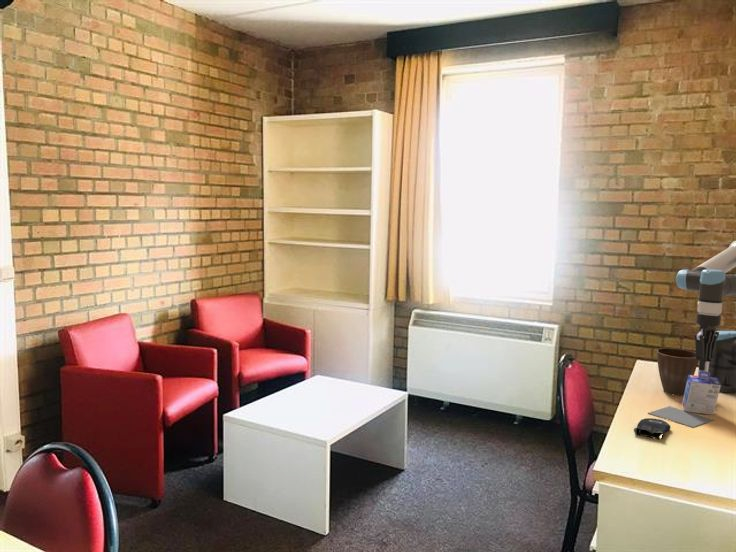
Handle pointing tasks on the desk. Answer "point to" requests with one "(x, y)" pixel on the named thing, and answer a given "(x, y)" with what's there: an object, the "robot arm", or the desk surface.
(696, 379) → the ink cartridge box
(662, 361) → the plant pot
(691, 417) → the mat
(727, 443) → the desk surface
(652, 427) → the electronic device
